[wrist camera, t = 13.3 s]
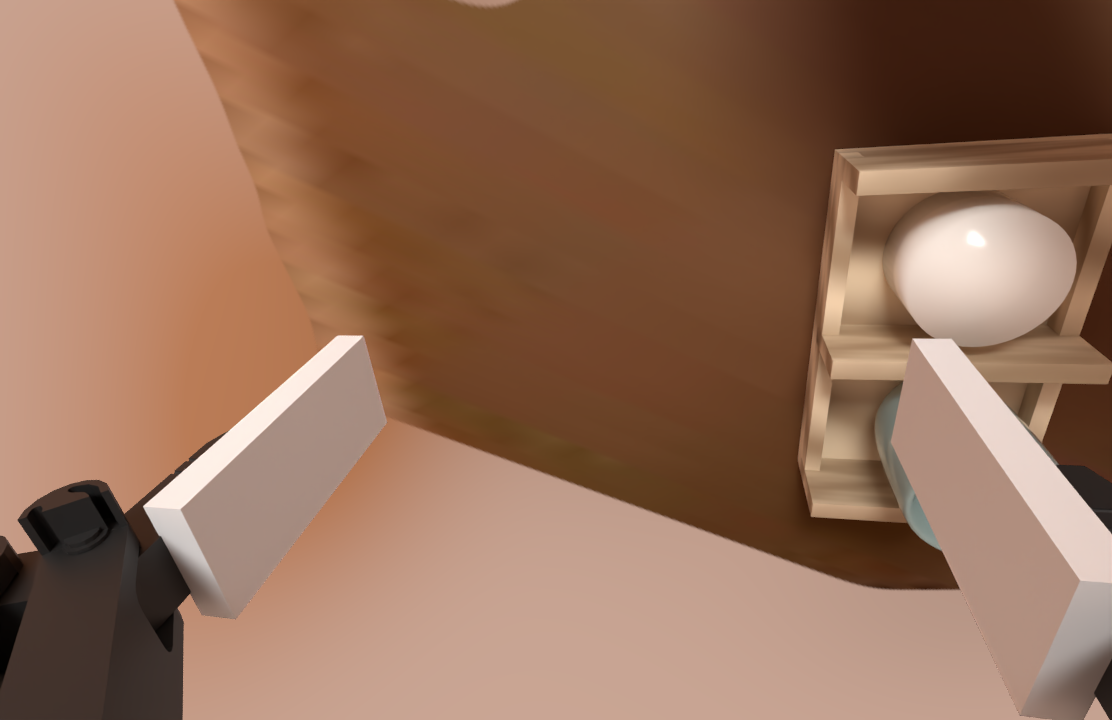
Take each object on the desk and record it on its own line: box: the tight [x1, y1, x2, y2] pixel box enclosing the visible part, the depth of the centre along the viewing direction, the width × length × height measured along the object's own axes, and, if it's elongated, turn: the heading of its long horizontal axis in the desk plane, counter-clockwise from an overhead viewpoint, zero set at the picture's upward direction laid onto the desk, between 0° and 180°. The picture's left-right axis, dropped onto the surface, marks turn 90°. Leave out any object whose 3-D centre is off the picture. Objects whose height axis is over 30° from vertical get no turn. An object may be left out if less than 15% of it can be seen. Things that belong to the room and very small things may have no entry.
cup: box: [874, 382, 1059, 551], centre depth 36 cm, size 8×8×10 cm
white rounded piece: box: [883, 190, 1077, 347], centre depth 34 cm, size 8×8×5 cm
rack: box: [798, 133, 1112, 523], centre depth 37 cm, size 23×14×6 cm, turn 5°
